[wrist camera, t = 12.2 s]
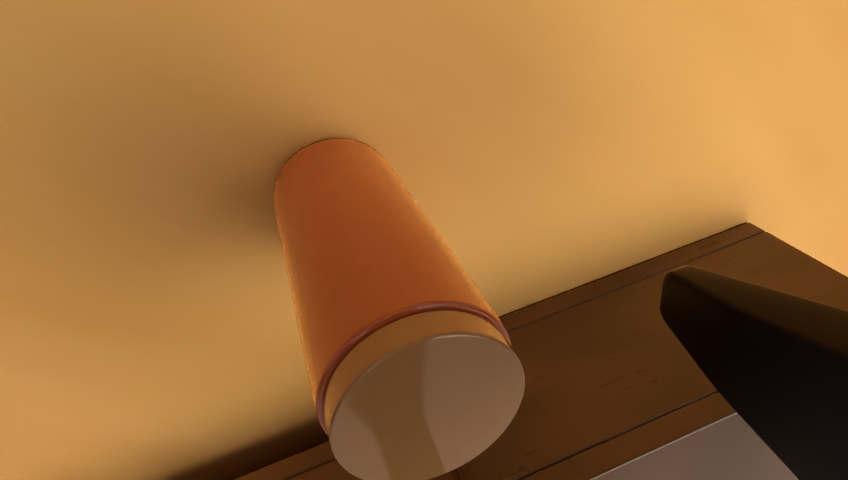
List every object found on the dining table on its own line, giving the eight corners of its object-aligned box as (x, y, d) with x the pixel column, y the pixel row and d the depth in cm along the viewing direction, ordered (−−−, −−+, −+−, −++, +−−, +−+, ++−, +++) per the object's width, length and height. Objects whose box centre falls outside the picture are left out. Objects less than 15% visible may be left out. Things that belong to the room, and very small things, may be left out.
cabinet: (462, 551, 27) (524, 709, 21) (407, 352, 18) (485, 528, 13) (703, 439, 29) (813, 556, 24) (749, 221, 21) (932, 323, 16)
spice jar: (381, 122, 14) (524, 295, 7) (405, 227, 16) (536, 439, 9) (254, 159, 13) (290, 383, 7) (295, 264, 15) (354, 518, 9)
